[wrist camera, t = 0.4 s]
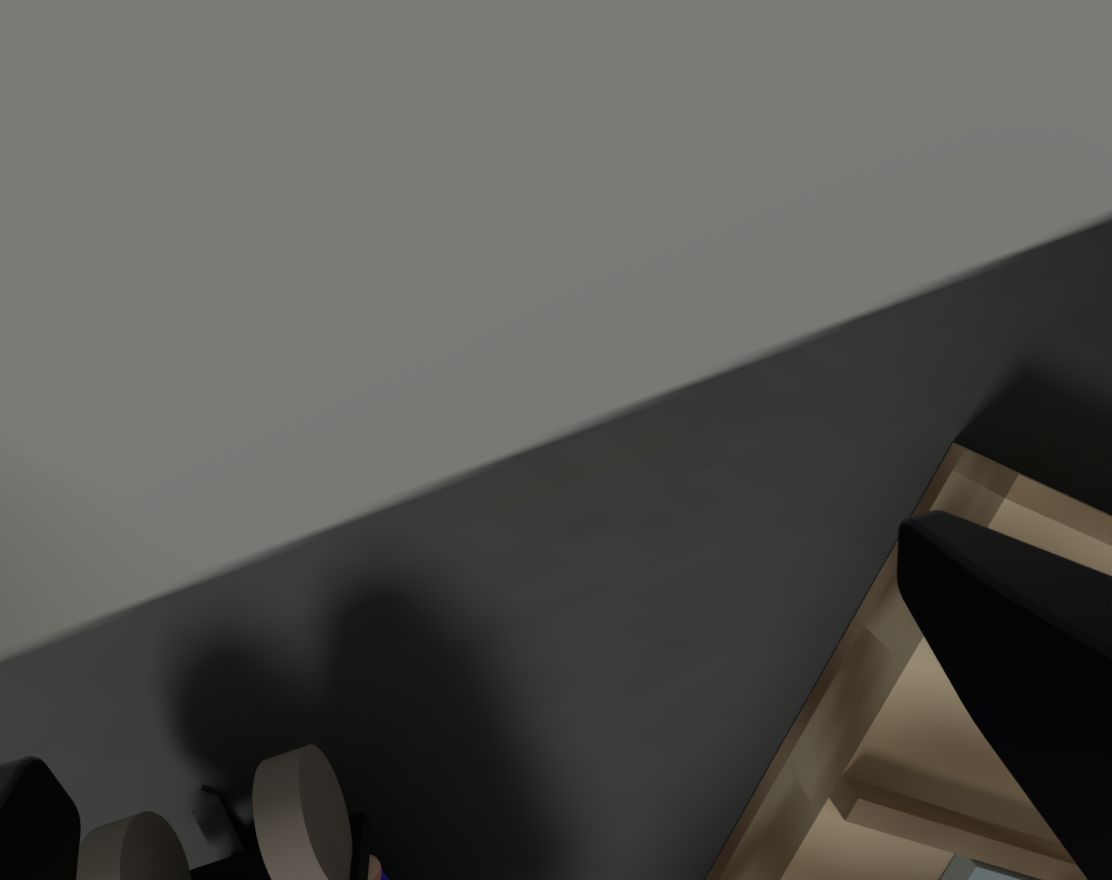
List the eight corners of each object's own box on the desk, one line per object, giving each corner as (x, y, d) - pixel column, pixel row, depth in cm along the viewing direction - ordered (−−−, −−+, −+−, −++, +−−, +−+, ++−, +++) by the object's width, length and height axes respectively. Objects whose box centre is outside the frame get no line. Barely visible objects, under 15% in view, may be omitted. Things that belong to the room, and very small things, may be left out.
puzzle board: (1096, 1028, 36) (1177, 1128, 32) (677, 927, 30) (717, 1034, 27) (1374, 636, 32) (1503, 697, 28) (953, 441, 27) (1044, 486, 23)
